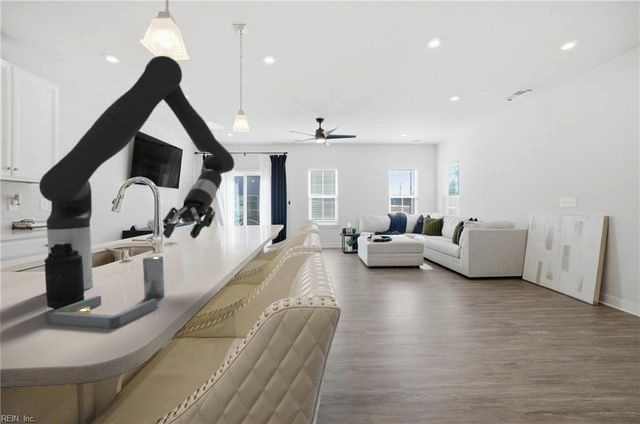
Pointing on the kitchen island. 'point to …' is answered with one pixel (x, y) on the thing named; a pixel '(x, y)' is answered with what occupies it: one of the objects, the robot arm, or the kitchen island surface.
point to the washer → (81, 310)
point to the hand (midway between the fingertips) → (179, 236)
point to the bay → (97, 319)
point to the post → (153, 277)
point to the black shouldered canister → (64, 276)
